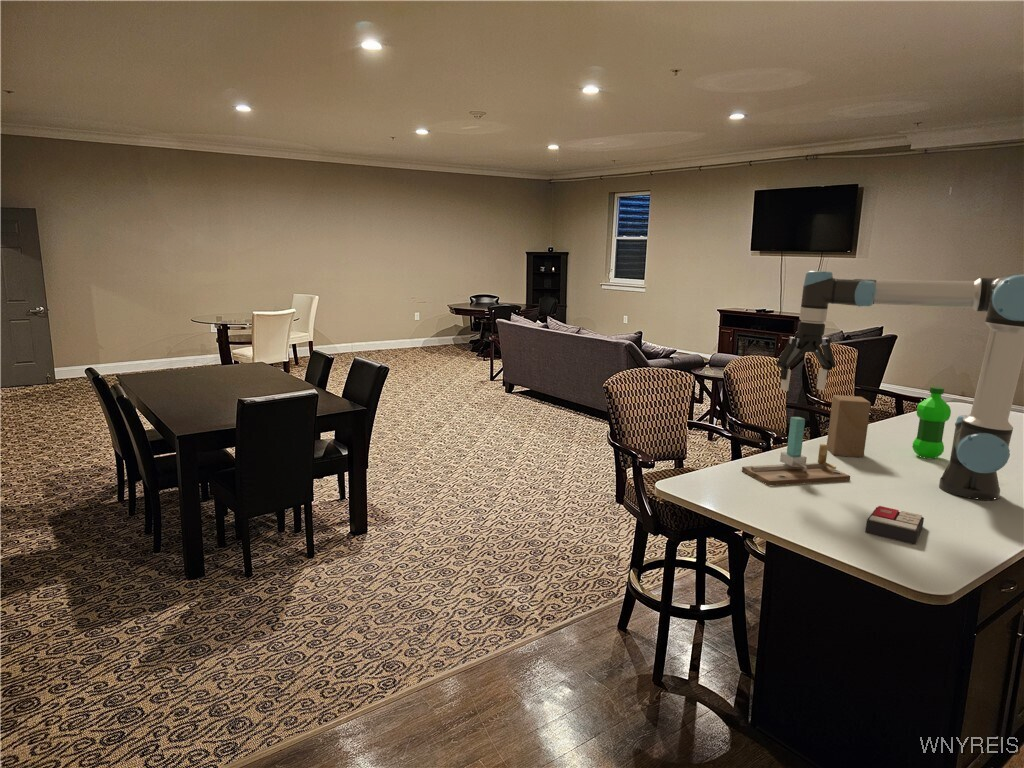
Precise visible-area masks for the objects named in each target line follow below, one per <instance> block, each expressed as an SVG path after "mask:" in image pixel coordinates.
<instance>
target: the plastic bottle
mask: <svg viewBox="0 0 1024 768" xmlns="http://www.w3.org/2000/svg"><path fill="white" fill-rule="evenodd" d="M944 391H945V388H943V387H939V386H930V388H929V393H930V396H929V397H928V398H925V399H924V400H922V401H920V402H919V403H918V404H917V407H916V416H917V417H918V418H919V422H918V427H917V434H916V437H915V438H914V440H913V441H912V446H911V447H912V450H913V452H914V453H915V454H916V455H917V456H918V457H919V456H921V457H925V458H924V459H926V458H935V459H936V458H938V457H940V456H941V455H943V453H944V452H945V451H944V450H945V445H944V442H943V438H944V431H945V425H946V422H947V421H949V420H950V417H951V414H952V411H951V410H952V409H951V406H949V404H948V403H947V402H946V401H945V400H944V399H943V398H942V395H944ZM921 457H920V458H921Z"/></svg>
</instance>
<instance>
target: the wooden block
mask: <svg viewBox="0 0 1024 768" xmlns="http://www.w3.org/2000/svg"><path fill="white" fill-rule="evenodd" d="M871 405H872V403H871V402H870V401H869V400H867V399H866V398H864V397H863V396H856V395H855V396H853V395H839V394H833V396H832V400H831V406H830V407H831V408H830V409H831V411H830V415H829V425H828V430H827V431H828V433H827V439H826V440H827V441H826V445H828V450H827V451H829V452H830V453H831V454H832V455H833V456H836V455H837V456H838V457H839V456H841V457H848V456H849V458H860V457H861V458H864V457H865V449H866V448H865V447H866V441H867V435H868V434H867V433H868V427H869V419H870V411H871Z"/></svg>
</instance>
